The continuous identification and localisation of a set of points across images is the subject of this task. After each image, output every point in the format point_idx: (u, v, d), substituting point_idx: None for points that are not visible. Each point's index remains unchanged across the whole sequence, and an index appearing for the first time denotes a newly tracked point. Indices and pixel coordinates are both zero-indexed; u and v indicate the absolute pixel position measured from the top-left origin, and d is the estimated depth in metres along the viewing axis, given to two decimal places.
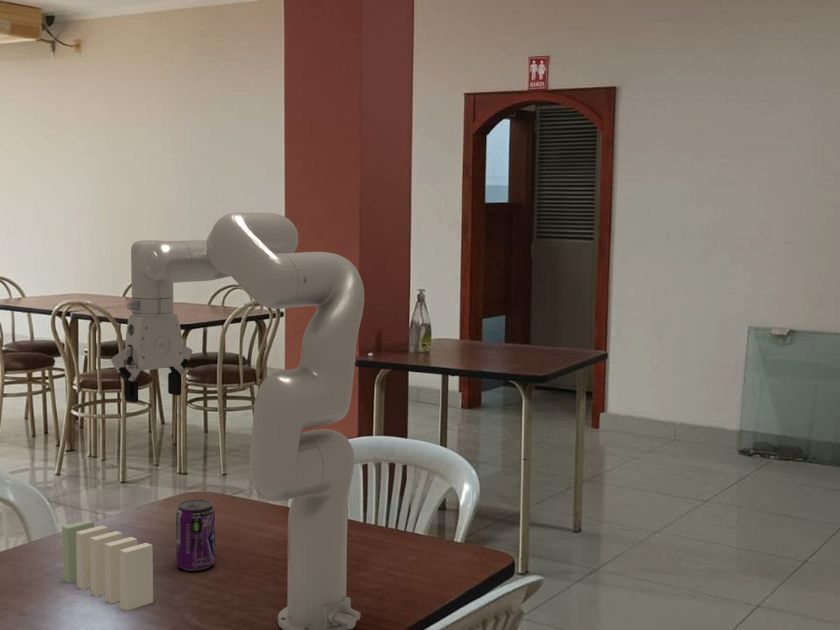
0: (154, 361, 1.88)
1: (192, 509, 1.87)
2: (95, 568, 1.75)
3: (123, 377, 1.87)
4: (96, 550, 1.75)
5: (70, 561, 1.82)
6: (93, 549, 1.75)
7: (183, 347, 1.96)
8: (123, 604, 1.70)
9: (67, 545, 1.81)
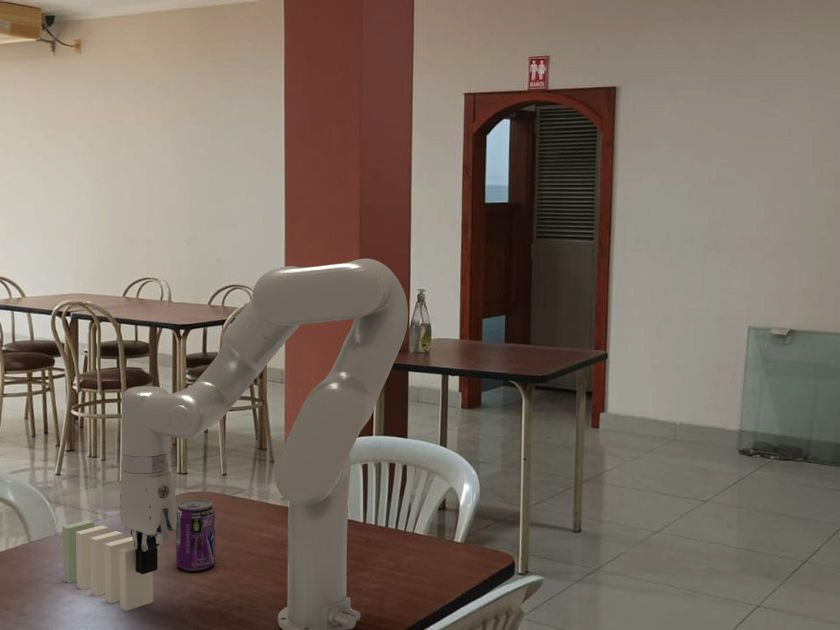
0: None
1: (192, 509, 1.87)
2: (95, 568, 1.75)
3: (153, 547, 1.68)
4: (96, 550, 1.75)
5: (70, 561, 1.82)
6: (93, 549, 1.75)
7: None
8: (123, 604, 1.70)
9: (67, 545, 1.81)
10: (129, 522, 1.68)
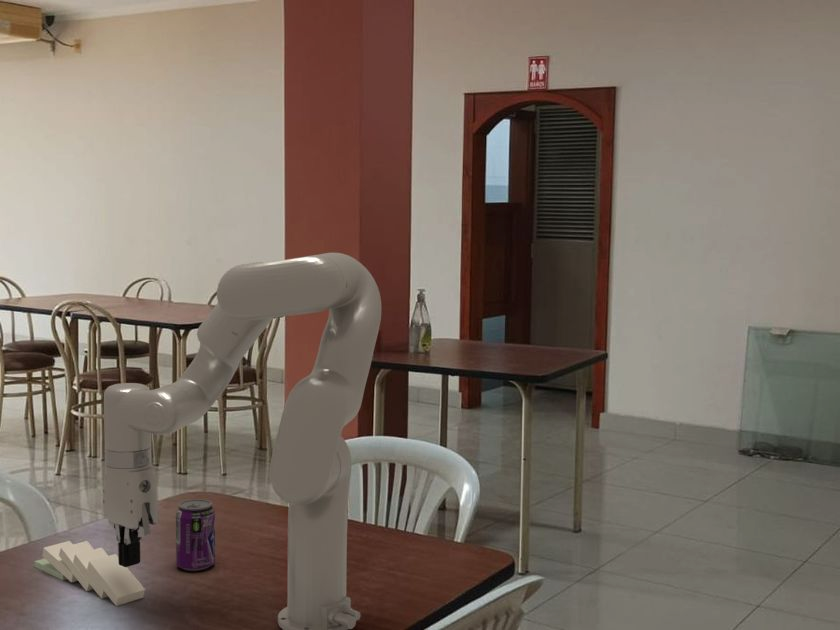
0: None
1: (192, 509, 1.87)
2: (74, 566, 1.80)
3: (135, 540, 1.71)
4: (66, 554, 1.82)
5: (53, 568, 1.86)
6: (65, 557, 1.82)
7: None
8: (114, 598, 1.72)
9: (43, 566, 1.87)
10: (112, 516, 1.72)
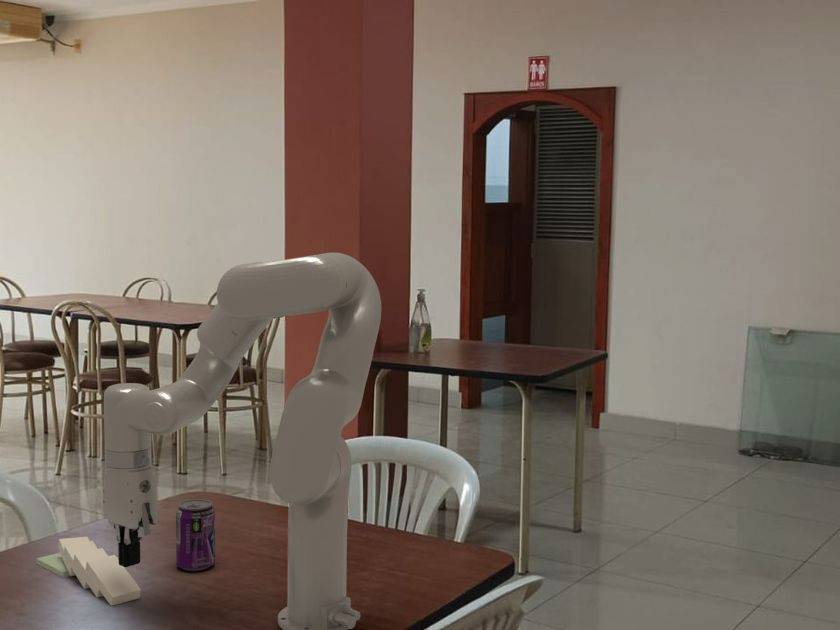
0: None
1: (192, 509, 1.87)
2: None
3: (135, 540, 1.71)
4: (69, 552, 1.84)
5: (54, 566, 1.87)
6: (67, 555, 1.84)
7: None
8: (109, 597, 1.72)
9: (44, 563, 1.89)
10: (112, 516, 1.72)
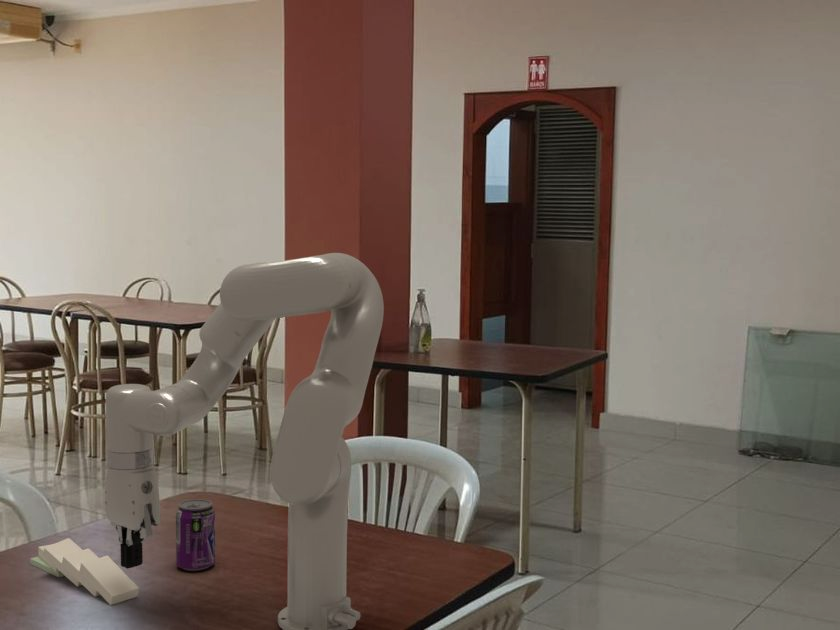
0: None
1: (192, 509, 1.87)
2: (61, 563, 1.82)
3: (137, 541, 1.71)
4: (51, 553, 1.83)
5: None
6: (49, 556, 1.83)
7: None
8: (108, 597, 1.72)
9: (38, 563, 1.89)
10: (114, 517, 1.71)
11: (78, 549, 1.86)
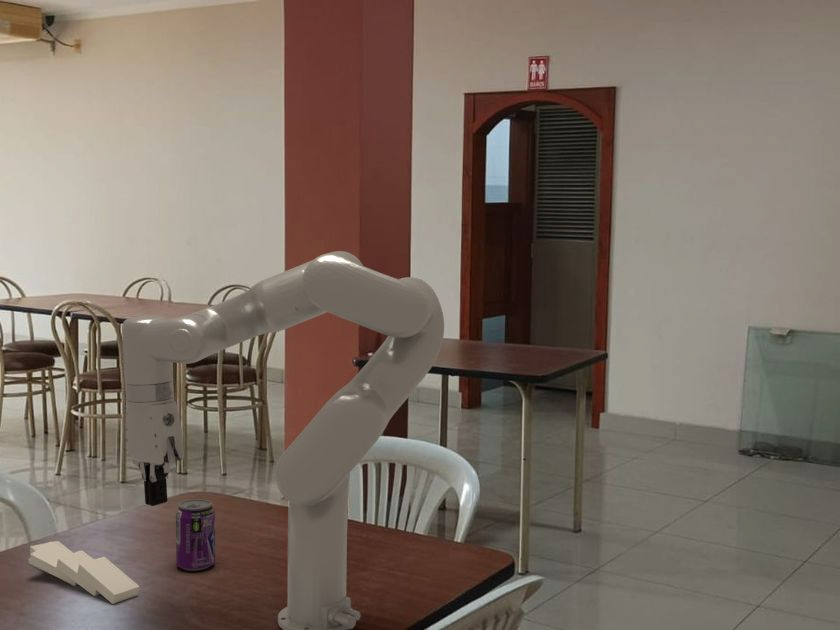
0: None
1: (192, 509, 1.87)
2: (53, 566, 1.81)
3: (161, 477, 1.66)
4: (39, 558, 1.82)
5: None
6: (38, 561, 1.82)
7: None
8: (110, 596, 1.73)
9: None
10: (136, 454, 1.66)
11: (64, 550, 1.86)
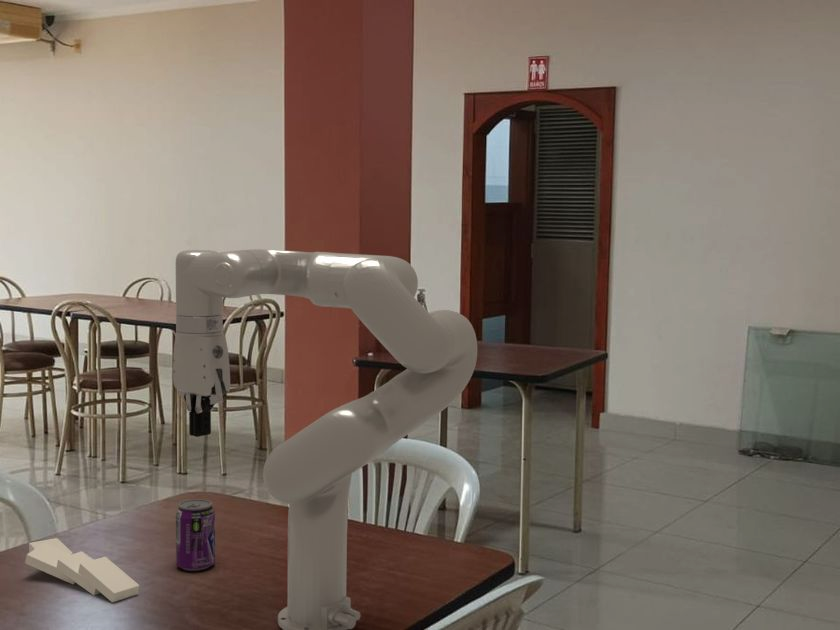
0: None
1: (192, 509, 1.87)
2: (50, 566, 1.81)
3: (206, 409, 1.69)
4: (36, 558, 1.82)
5: None
6: (34, 561, 1.82)
7: None
8: (110, 594, 1.73)
9: None
10: (183, 385, 1.69)
11: (59, 550, 1.86)
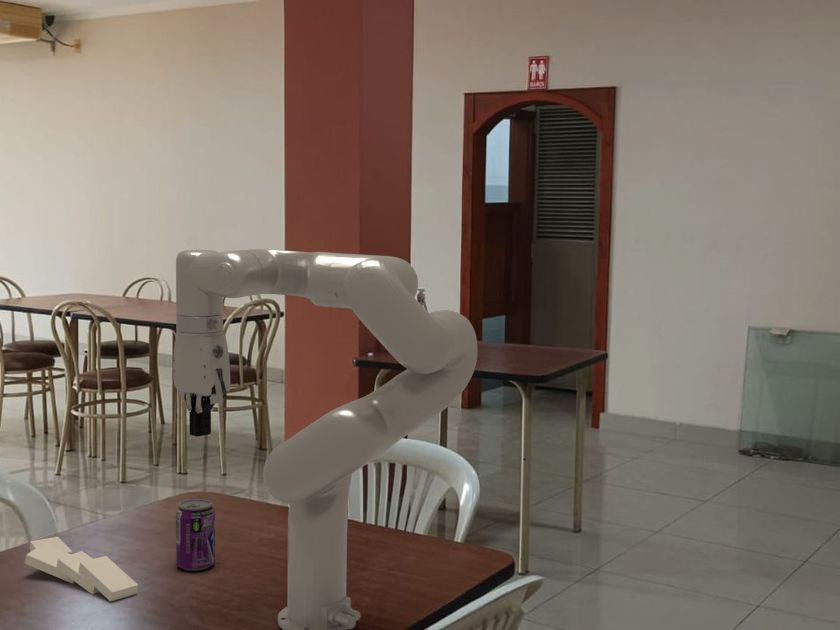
0: None
1: (192, 509, 1.87)
2: (50, 565, 1.82)
3: (207, 409, 1.69)
4: (35, 558, 1.83)
5: None
6: (34, 561, 1.83)
7: None
8: (108, 593, 1.74)
9: None
10: (183, 385, 1.69)
11: (58, 551, 1.87)
